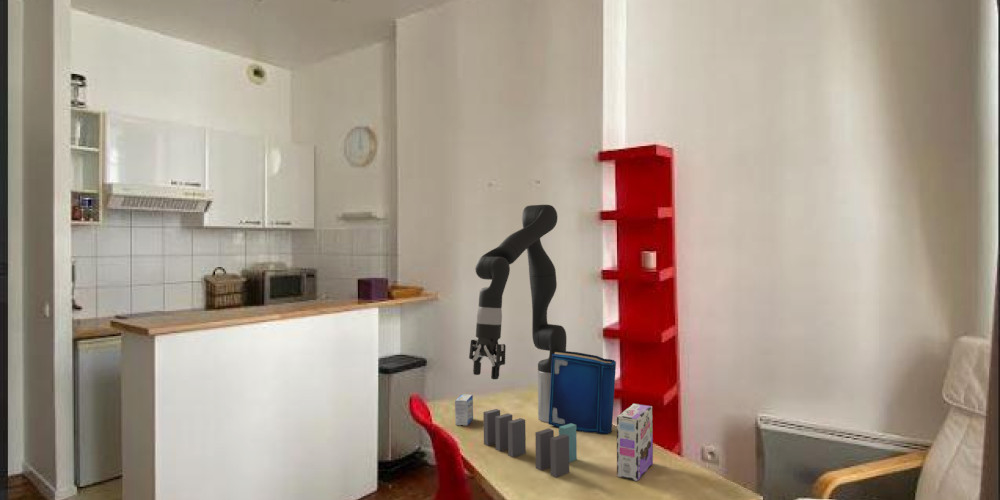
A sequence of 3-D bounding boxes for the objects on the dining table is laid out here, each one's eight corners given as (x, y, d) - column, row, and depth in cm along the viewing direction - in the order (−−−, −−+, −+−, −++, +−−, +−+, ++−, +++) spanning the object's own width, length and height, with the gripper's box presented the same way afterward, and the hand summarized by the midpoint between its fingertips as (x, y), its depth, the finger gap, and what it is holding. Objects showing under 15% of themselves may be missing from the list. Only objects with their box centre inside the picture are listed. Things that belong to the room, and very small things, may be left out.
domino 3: (521, 451, 167) (520, 418, 167) (525, 453, 166) (525, 419, 166) (508, 455, 164) (507, 421, 164) (512, 457, 163) (512, 423, 163)
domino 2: (508, 445, 172) (508, 413, 172) (512, 447, 171) (512, 414, 170) (495, 449, 169) (495, 416, 169) (499, 451, 168) (499, 418, 167)
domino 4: (549, 463, 158) (548, 428, 158) (553, 465, 156) (553, 430, 156) (535, 468, 155) (535, 432, 155) (540, 470, 153) (540, 434, 153)
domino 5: (571, 457, 162) (571, 423, 162) (576, 459, 161) (576, 424, 161) (559, 462, 159) (558, 426, 159) (564, 464, 158) (563, 428, 157)
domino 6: (564, 470, 153) (563, 433, 153) (569, 472, 152) (568, 435, 152) (550, 475, 150) (550, 438, 150) (555, 477, 149) (555, 440, 149)
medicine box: (467, 426, 191) (467, 400, 191) (455, 425, 192) (454, 400, 192) (473, 418, 199) (473, 394, 198) (461, 418, 199) (460, 394, 199)
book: (616, 431, 186) (618, 356, 185) (610, 438, 180) (612, 361, 178) (554, 420, 196) (556, 349, 194) (547, 426, 189) (549, 353, 188)
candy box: (637, 482, 146) (637, 418, 145) (616, 477, 149) (615, 415, 148) (653, 463, 157) (653, 405, 157) (633, 459, 160) (632, 402, 160)
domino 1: (496, 440, 177) (496, 408, 177) (500, 442, 175) (500, 410, 175) (483, 444, 174) (483, 412, 174) (487, 445, 172) (487, 413, 172)
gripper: (514, 324, 166) (510, 380, 165) (484, 320, 177) (480, 372, 176) (494, 324, 162) (490, 381, 160) (465, 320, 172) (461, 373, 171)
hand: (485, 376), depth 168 cm, fingers open, 8 cm apart
